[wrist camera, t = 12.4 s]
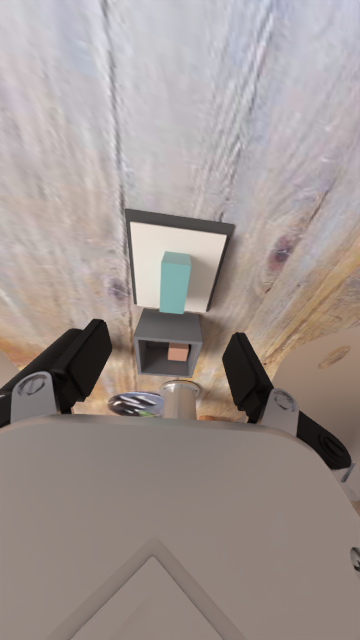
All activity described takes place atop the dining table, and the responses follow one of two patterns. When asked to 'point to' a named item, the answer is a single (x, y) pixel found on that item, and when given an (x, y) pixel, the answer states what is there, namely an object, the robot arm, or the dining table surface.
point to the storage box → (167, 343)
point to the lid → (174, 266)
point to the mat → (176, 223)
